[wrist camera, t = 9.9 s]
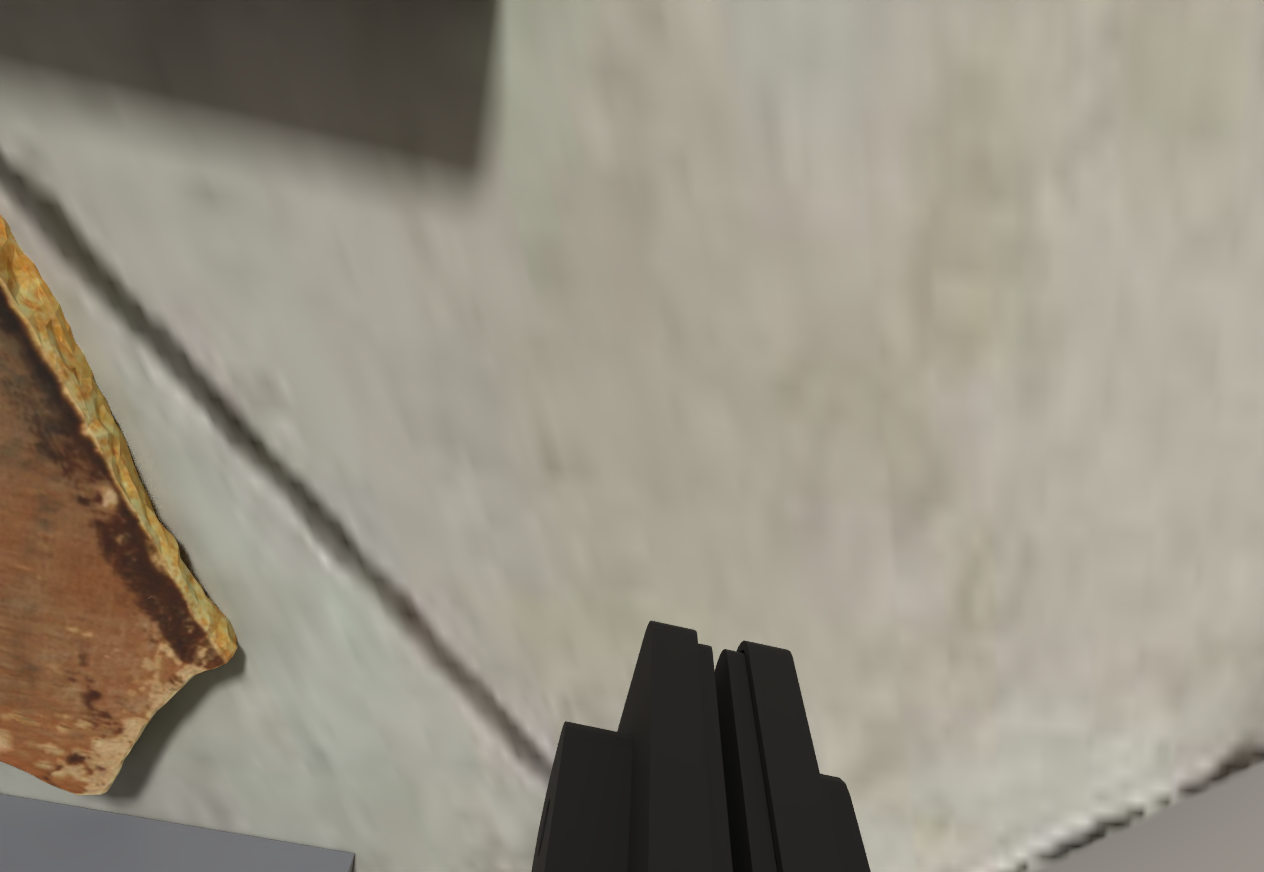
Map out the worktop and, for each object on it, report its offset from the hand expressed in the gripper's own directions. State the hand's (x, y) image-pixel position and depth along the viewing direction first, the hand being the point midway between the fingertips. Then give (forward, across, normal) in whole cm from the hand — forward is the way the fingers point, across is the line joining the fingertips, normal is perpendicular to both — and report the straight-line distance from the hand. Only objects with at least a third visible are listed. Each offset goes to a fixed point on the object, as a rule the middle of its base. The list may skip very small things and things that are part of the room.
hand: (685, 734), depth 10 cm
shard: (+7, +13, +4) cm, 16 cm away
